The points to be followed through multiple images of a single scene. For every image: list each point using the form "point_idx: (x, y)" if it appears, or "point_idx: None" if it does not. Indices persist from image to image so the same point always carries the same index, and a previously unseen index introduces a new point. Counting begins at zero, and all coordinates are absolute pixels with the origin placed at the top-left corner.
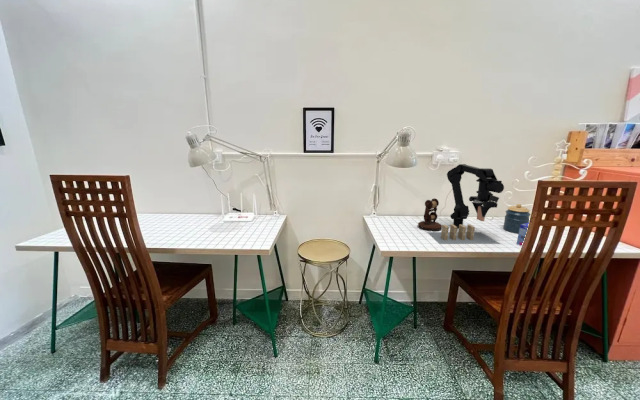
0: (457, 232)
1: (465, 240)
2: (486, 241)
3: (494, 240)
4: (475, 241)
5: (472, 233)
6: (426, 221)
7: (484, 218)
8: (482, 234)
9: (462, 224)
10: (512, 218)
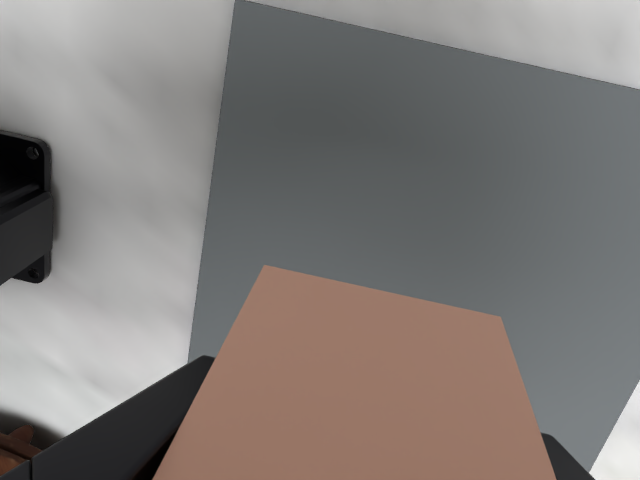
0: (200, 355)
1: None
2: (612, 250)
3: (636, 99)
4: (549, 380)
5: None
6: None
7: (517, 368)
8: (347, 73)
9: (13, 221)
10: None
